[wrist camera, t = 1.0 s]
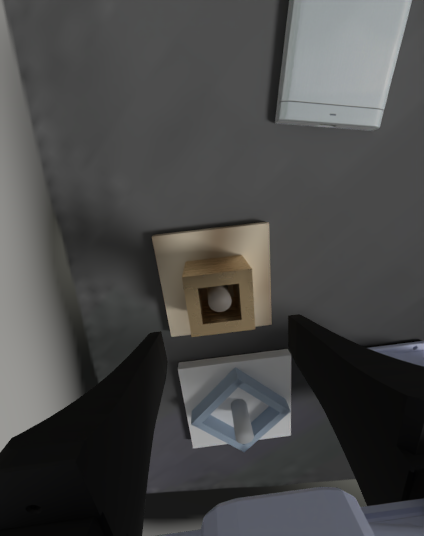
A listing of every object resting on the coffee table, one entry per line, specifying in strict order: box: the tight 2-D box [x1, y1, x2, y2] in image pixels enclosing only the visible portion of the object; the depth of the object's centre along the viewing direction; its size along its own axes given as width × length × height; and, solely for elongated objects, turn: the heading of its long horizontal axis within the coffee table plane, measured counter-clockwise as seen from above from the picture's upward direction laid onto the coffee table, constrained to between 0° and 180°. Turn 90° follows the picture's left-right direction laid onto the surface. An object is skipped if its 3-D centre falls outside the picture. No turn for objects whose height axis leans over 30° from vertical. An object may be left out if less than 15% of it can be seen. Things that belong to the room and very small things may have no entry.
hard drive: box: [275, 0, 412, 131], centre depth 15 cm, size 2×8×12 cm
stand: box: [152, 222, 272, 337], centre depth 19 cm, size 10×10×4 cm
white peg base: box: [178, 349, 291, 452], centre depth 23 cm, size 12×12×4 cm
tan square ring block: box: [182, 255, 255, 337], centre depth 18 cm, size 5×5×4 cm
